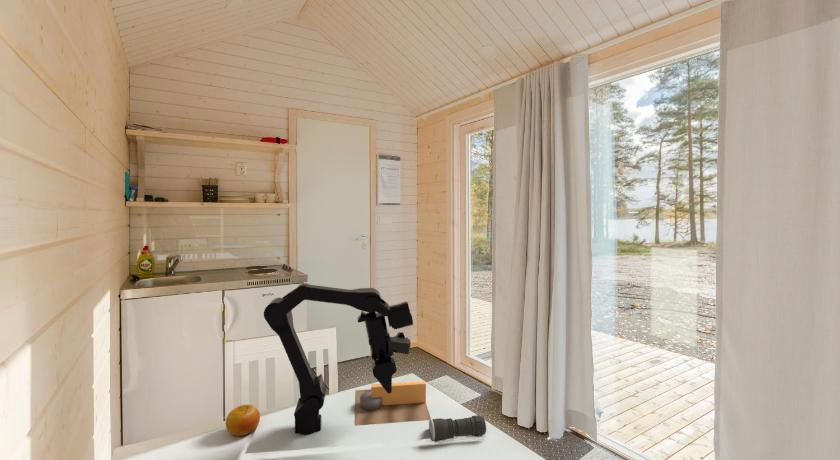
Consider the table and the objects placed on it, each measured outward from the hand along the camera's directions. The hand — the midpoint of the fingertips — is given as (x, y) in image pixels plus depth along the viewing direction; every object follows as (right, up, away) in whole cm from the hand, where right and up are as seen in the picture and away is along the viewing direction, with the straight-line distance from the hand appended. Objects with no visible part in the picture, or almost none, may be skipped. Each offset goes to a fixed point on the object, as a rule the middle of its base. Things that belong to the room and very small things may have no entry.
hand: (388, 385), depth 115 cm
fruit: (-41, -13, -1) cm, 43 cm away
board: (0, -12, +12) cm, 17 cm away
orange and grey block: (+1, -10, +12) cm, 16 cm away
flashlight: (+19, -13, -3) cm, 23 cm away
